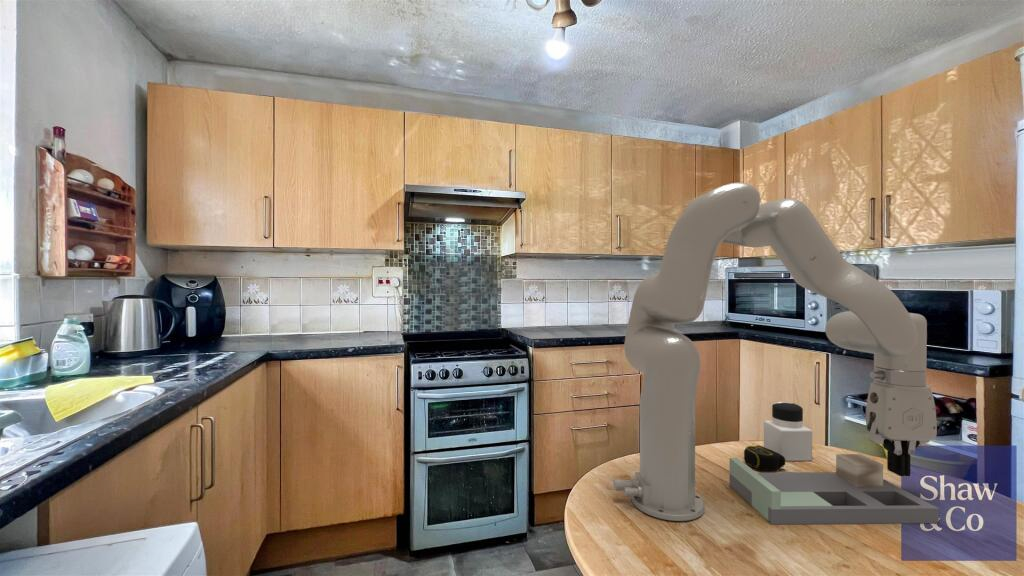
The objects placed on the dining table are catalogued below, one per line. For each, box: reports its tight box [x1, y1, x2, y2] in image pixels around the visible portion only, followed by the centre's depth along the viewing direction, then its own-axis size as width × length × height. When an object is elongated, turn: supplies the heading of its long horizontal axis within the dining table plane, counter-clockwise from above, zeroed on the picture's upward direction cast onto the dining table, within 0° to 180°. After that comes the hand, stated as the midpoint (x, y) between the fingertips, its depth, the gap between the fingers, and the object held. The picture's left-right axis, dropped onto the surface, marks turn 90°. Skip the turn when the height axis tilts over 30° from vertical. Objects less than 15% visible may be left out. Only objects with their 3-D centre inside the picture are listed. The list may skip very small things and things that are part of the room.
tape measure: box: [743, 444, 786, 471], centre depth 96 cm, size 7×7×4 cm
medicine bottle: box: [763, 401, 813, 462], centre depth 102 cm, size 7×7×12 cm
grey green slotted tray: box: [729, 457, 940, 525], centre depth 80 cm, size 28×14×6 cm, turn 90°
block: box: [835, 453, 884, 486], centre depth 84 cm, size 5×5×4 cm
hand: (898, 473), depth 84 cm, fingers closed
